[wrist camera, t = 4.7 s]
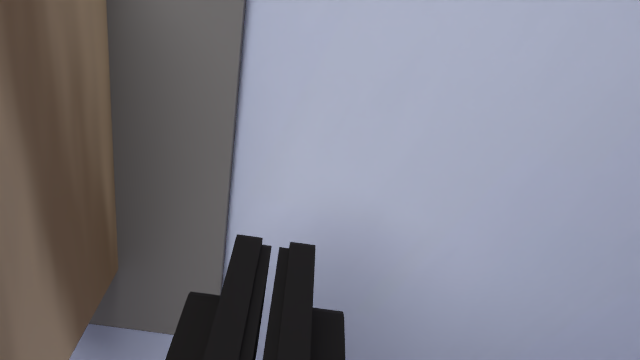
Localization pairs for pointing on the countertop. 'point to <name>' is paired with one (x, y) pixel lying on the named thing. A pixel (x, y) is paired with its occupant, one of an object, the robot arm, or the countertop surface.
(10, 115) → the slab
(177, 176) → the mat
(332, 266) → the countertop surface
